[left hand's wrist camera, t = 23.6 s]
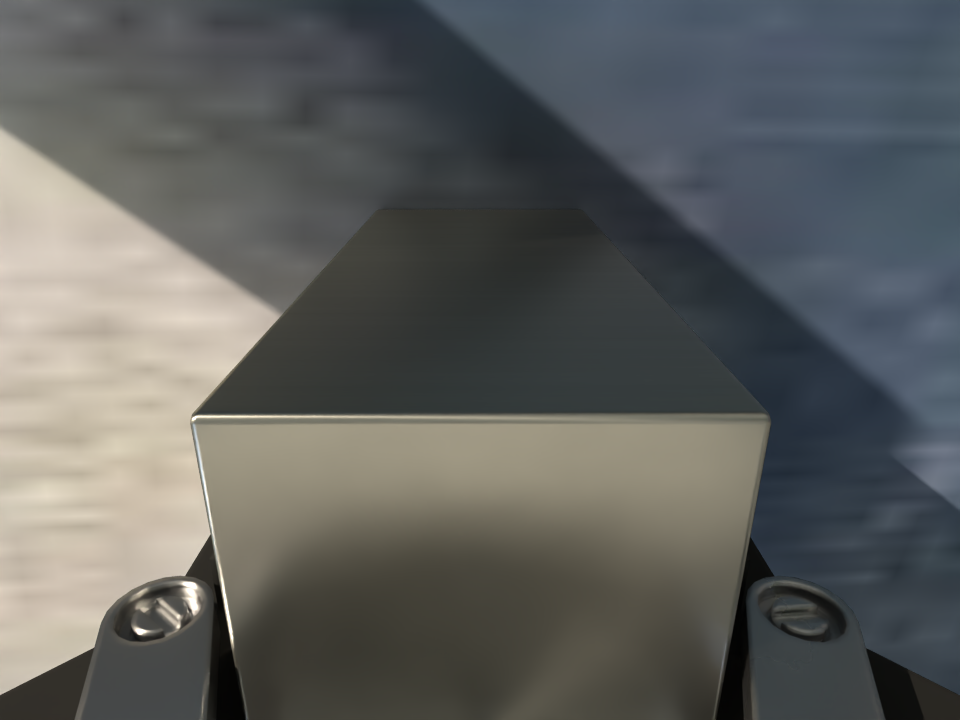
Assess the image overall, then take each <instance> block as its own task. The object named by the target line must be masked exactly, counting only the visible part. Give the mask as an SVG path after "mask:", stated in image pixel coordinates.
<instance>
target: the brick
mask: <svg viewBox="0 0 960 720" xmlns="http://www.w3.org/2000/svg"><path fill="white" fill-rule="evenodd" d="M770 426H771V418H770V415H769V413H768V412H767V411H766V410H765V408H764V407H763V406H762V405H761V404H760V403H759V402H758V401H757V400H756V399H755V398H754V397H753V395H752V394H751V393H750V392H749V391H748V390H747V389H746V388H745V387H744V386H743V385H742V383H741V382H740V381H739V380H738V379H737V378H736V377H735V376H734V375H733V374H732V373H731V372H730V370H729V369H728V368H727V367H726V366H725V365H724V364H723V363H722V362H721V361H720V360H719V358H718V357H717V356H716V355H715V354H714V353H713V352H712V351H711V350H710V349H709V348H708V347H707V345H706V344H705V343H704V342H703V341H702V340H701V339H700V338H699V337H698V336H697V335H696V333H695V332H694V331H693V330H692V329H691V328H690V327H689V326H688V325H687V324H686V323H685V321H684V320H683V319H682V318H681V317H680V316H679V315H678V314H677V313H676V312H675V311H674V310H673V308H672V307H671V306H670V305H669V304H668V303H667V302H666V301H665V300H664V299H663V298H662V296H661V295H660V294H659V293H658V292H657V291H656V290H655V289H654V288H653V287H652V286H651V285H650V283H649V282H648V281H647V280H646V279H645V278H644V277H643V276H642V275H641V274H640V273H639V271H638V270H637V269H636V268H635V267H634V266H633V265H632V264H631V263H630V262H629V261H628V260H627V258H626V257H625V256H624V255H623V254H622V253H621V252H620V251H619V250H618V249H617V248H616V246H615V245H614V244H613V243H612V242H611V241H610V240H609V239H608V238H607V237H606V236H605V234H604V233H603V232H602V231H601V230H600V229H599V228H598V227H597V226H596V225H595V224H594V223H593V221H592V220H591V219H590V218H589V217H588V216H587V215H586V214H585V213H584V212H583V211H582V210H377V211H376V212H375V213H374V214H373V215H372V216H371V217H370V218H369V219H368V221H367V222H366V223H365V224H364V225H363V226H362V227H361V228H360V229H359V231H358V232H357V233H356V234H355V235H354V236H353V237H352V238H351V239H350V240H349V242H348V243H347V244H346V245H345V246H344V247H343V248H342V249H341V250H340V252H339V253H338V254H337V255H336V256H335V257H334V258H333V259H332V260H331V261H330V263H329V264H328V265H327V266H326V267H325V268H324V269H323V270H322V271H321V272H320V274H319V275H318V276H317V277H316V278H315V279H314V280H313V281H312V282H311V284H310V285H309V286H308V287H307V288H306V289H305V290H304V291H303V292H302V293H301V295H300V296H299V297H298V298H297V299H296V300H295V301H294V302H293V303H292V305H291V306H290V307H289V308H288V309H287V310H286V311H285V312H284V313H283V314H282V316H281V317H280V318H279V319H278V320H277V321H276V322H275V323H274V324H273V325H272V327H271V328H270V329H269V330H268V331H267V332H266V333H265V334H264V335H263V337H262V338H261V339H260V340H259V341H258V342H257V343H256V344H255V345H254V346H253V348H252V349H251V350H250V351H249V352H248V353H247V354H246V355H245V356H244V358H243V359H242V360H241V361H240V362H239V363H238V364H237V365H236V366H235V367H234V369H233V370H232V371H231V372H230V373H229V374H228V375H227V376H226V377H225V378H224V380H223V381H222V382H221V383H220V384H219V385H218V386H217V387H216V388H215V390H214V391H213V392H212V393H211V394H210V395H209V396H208V397H207V398H206V399H205V401H204V402H203V403H202V404H201V405H200V406H199V407H198V408H197V409H196V411H195V412H194V413H193V414H192V417H191V429H192V435H193V440H194V446H195V451H196V457H197V462H198V467H199V473H200V478H201V484H202V489H203V495H204V500H205V505H206V511H207V516H208V522H209V527H210V533H211V538H212V544H213V549H214V554H215V560H216V565H217V571H218V576H219V582H220V587H221V592H222V598H223V603H224V609H225V614H226V620H227V625H228V630H229V636H230V641H231V647H232V652H233V658H234V663H235V669H236V674H237V679H238V685H239V690H240V696H241V701H242V707H243V712H244V717H245V720H716V718H717V713H718V707H719V702H720V697H721V691H722V686H723V680H724V675H725V670H726V664H727V659H728V653H729V648H730V643H731V637H732V632H733V626H734V621H735V616H736V610H737V605H738V599H739V594H740V589H741V583H742V578H743V572H744V567H745V561H746V556H747V551H748V545H749V540H750V534H751V529H752V524H753V518H754V513H755V507H756V502H757V497H758V491H759V486H760V480H761V475H762V470H763V464H764V459H765V453H766V448H767V443H768V437H769V432H770Z"/></svg>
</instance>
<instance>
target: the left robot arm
mask: <svg viewBox="0 0 960 720" xmlns="http://www.w3.org/2000/svg"><path fill="white" fill-rule="evenodd" d="M0 720H245V717H244V712H243V707H242V701H241V696H240V690H239V685H238V679H237V674H236V669H235V663H234V658H233V652H232V647H231V641H230V636H229V630H228V625H227V620H226V614H225V609H224V603H223V598H222V592H221V587H220V582H219V576H218V571H217V565H216V560H215V554H214V549H213V544H212V538H211V535H210V536H209V538H208V540H207V541H206V543H205V545H204V546H203V548H202V549H201V551H200V553H199V554H198V556H197V558H196V559H195V561H194V562H193V564H192V566H191V567H190V569H189V571H188V572H187V574H186V575H185V576H175V577H165V578H161V579H158V580H154V581H151V582H147V583H145V584H143V585H141V586H139V587H137V588H135V589H133V590H131V591H129V592H128V593H127V594H125V595H124V596H122V597H121V598H120V599H118V600H117V601H116V602H115V603H114V604H113V605H112V606H111V607H110V609H109V610H108V611H107V612H106V614H105V616H104V618H103V620H102V622H101V625H100V629H99V633H98V636H97V640H96V644H95V647H94V648H93V649H91V650H89V651H87V652H85V653H83V654H81V655H79V656H77V657H75V658H73V659H71V660H69V661H67V662H65V663H63V664H61V665H59V666H57V667H55V668H53V669H51V670H49V671H47V672H45V673H43V674H41V675H39V676H37V677H35V678H33V679H31V680H29V681H27V682H25V683H23V684H22V685H20V686H18V687H16V688H14V689H12V690H10V691H8V692H6V693H4V694H2V695H0ZM716 720H960V695H958V694H956V693H954V692H952V691H950V690H948V689H946V688H944V687H942V686H940V685H938V684H936V683H934V682H932V681H930V680H928V679H926V678H924V677H922V676H920V675H918V674H916V673H914V672H912V671H910V670H908V669H906V668H904V667H902V666H900V665H898V664H896V663H894V662H892V661H890V660H888V659H887V658H885V657H883V656H881V655H879V654H877V653H875V652H873V651H871V650H869V649H867V648H866V647H865V644H864V640H863V636H862V633H861V629H860V625H859V622H858V620H857V618H856V616H855V614H854V612H853V611H852V610H851V609H850V607H849V606H848V605H847V604H846V603H845V602H844V601H843V600H842V599H840V598H839V597H838V596H836V595H835V594H833V593H832V592H831V591H829V590H827V589H825V588H823V587H821V586H819V585H817V584H815V583H813V582H809V581H806V580H802V579H799V578H795V577H785V576H774V575H773V573H772V572H771V570H770V568H769V567H768V565H767V563H766V562H765V560H764V559H763V557H762V555H761V554H760V552H759V550H758V549H757V547H756V546H755V544H754V542H753V541H752V539H751V537H750V540H749V545H748V551H747V556H746V561H745V567H744V572H743V578H742V583H741V589H740V594H739V599H738V605H737V610H736V616H735V621H734V626H733V632H732V637H731V643H730V648H729V653H728V659H727V664H726V670H725V675H724V680H723V686H722V691H721V697H720V702H719V707H718V713H717V718H716Z"/></svg>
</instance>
